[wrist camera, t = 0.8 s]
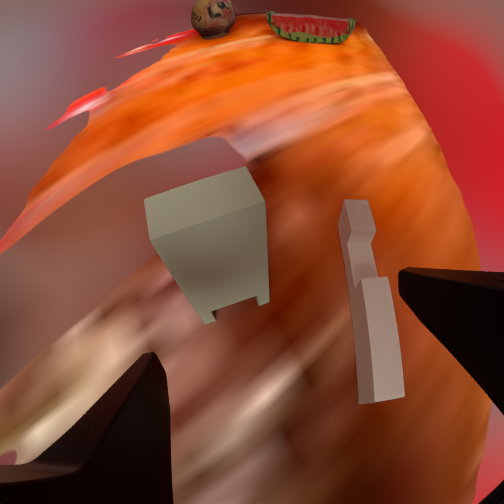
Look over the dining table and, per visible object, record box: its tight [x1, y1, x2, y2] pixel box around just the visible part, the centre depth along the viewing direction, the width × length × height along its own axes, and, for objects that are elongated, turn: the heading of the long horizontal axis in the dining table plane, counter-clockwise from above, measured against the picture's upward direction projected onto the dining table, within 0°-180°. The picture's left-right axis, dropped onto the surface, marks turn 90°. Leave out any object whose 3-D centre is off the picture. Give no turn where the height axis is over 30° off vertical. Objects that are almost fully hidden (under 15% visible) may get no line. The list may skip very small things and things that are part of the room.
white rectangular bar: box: [337, 199, 405, 405], centre depth 22 cm, size 18×2×4 cm, turn 179°
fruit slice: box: [267, 11, 355, 44], centre depth 64 cm, size 26×6×10 cm, turn 78°
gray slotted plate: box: [144, 166, 269, 325], centre depth 20 cm, size 6×3×13 cm, turn 110°
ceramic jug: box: [191, 0, 236, 39], centre depth 65 cm, size 17×15×30 cm
